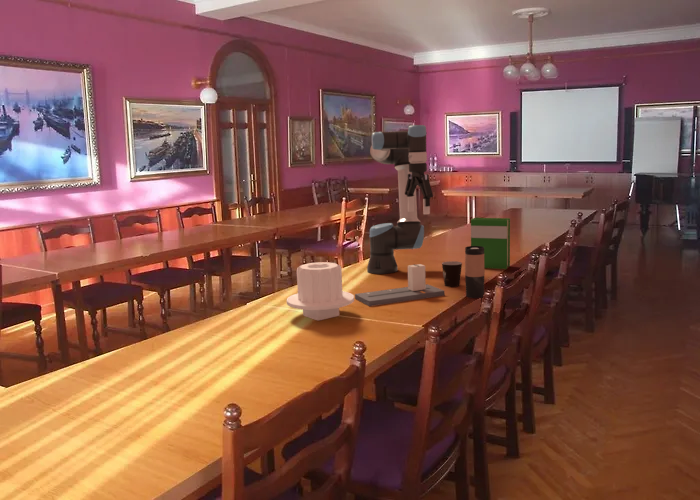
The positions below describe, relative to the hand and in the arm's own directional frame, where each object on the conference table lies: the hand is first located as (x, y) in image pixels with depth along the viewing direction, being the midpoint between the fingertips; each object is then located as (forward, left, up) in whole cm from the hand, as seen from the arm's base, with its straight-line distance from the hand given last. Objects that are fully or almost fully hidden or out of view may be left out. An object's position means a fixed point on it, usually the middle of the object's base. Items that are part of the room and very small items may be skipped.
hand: (418, 213), depth 264 cm
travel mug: (+24, +12, -33) cm, 42 cm away
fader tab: (+10, -7, -30) cm, 33 cm away
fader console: (+10, -15, -33) cm, 37 cm away
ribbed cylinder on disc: (+20, -53, -33) cm, 66 cm away
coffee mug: (+2, +15, -33) cm, 36 cm away
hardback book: (-22, +52, -33) cm, 65 cm away
